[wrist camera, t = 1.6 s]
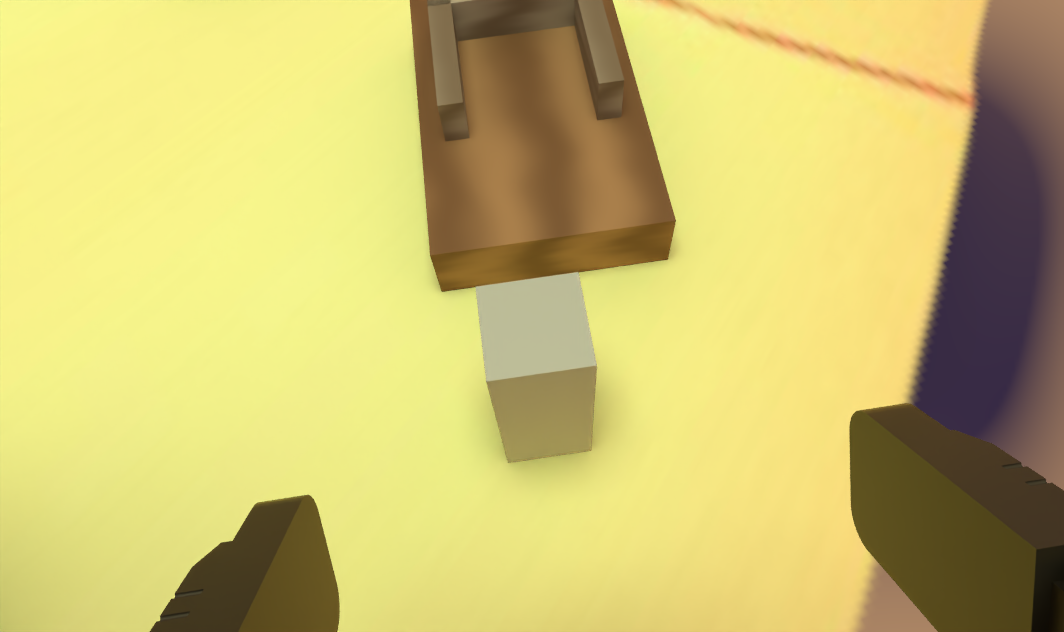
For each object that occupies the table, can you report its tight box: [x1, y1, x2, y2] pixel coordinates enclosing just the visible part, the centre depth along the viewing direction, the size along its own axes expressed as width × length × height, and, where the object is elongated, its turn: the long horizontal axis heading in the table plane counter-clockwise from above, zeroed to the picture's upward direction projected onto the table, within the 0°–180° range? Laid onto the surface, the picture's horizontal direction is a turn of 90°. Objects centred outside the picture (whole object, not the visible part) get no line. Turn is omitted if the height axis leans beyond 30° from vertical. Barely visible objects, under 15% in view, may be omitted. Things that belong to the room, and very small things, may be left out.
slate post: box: [476, 272, 597, 463], centre depth 35 cm, size 4×4×11 cm
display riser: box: [410, 0, 676, 291], centre depth 46 cm, size 14×22×7 cm, turn 8°
